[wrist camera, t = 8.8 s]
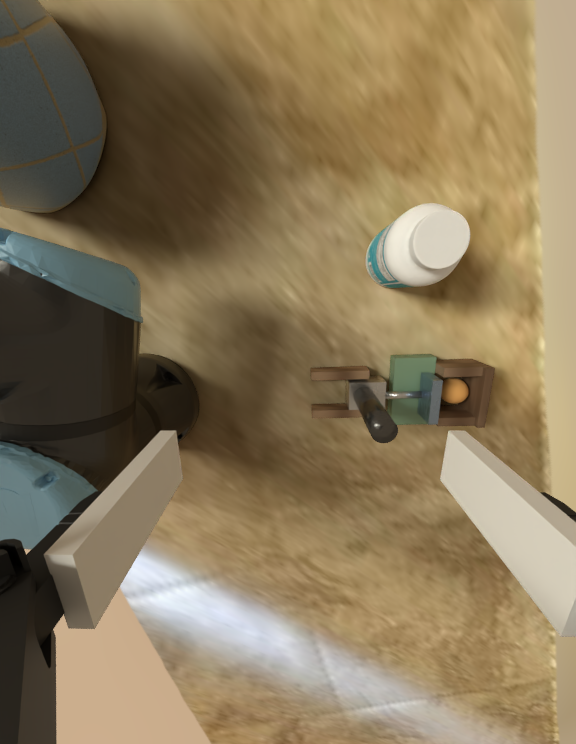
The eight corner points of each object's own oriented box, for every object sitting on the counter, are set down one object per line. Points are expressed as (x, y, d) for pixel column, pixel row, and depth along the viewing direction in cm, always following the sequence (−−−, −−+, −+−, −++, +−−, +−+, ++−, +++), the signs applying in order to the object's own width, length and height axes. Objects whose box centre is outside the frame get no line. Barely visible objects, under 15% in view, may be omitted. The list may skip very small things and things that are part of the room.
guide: (311, 411, 43) (312, 418, 41) (310, 367, 41) (311, 372, 39) (364, 410, 43) (367, 417, 40) (365, 366, 41) (369, 370, 38)
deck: (387, 418, 43) (391, 424, 41) (390, 355, 40) (395, 358, 38) (423, 418, 42) (429, 424, 41) (430, 353, 40) (436, 357, 38)
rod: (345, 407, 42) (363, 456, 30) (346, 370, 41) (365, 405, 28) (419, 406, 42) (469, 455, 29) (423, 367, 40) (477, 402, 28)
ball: (469, 401, 40) (441, 396, 42) (473, 377, 39) (444, 373, 41) (463, 409, 37) (434, 403, 40) (466, 384, 36) (436, 379, 39)
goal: (424, 412, 42) (439, 428, 37) (429, 360, 40) (446, 369, 35) (463, 411, 42) (484, 427, 37) (471, 358, 40) (494, 368, 35)
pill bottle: (432, 242, 36) (508, 215, 23) (403, 297, 38) (456, 300, 25) (381, 216, 35) (427, 173, 22) (353, 273, 37) (381, 264, 24)
